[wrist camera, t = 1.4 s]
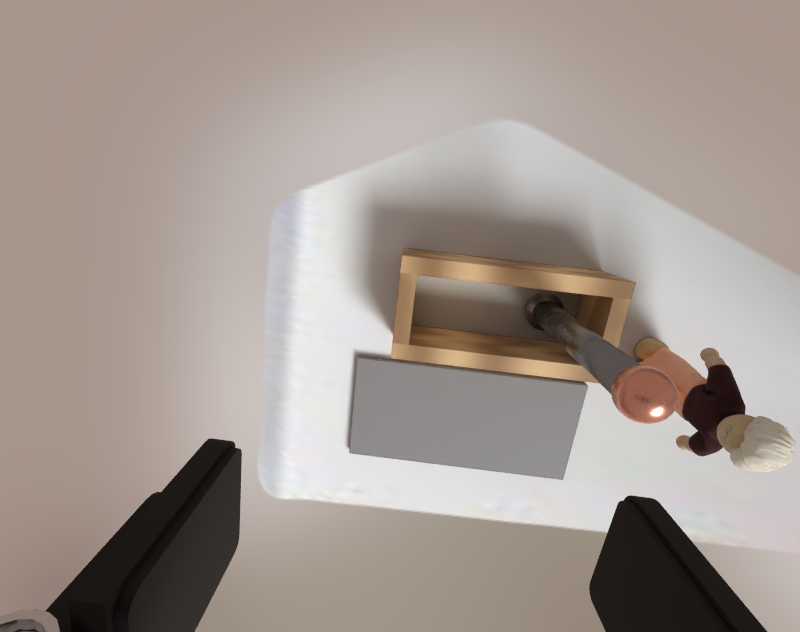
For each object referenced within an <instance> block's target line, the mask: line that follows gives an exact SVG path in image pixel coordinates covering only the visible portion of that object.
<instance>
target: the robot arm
mask: <svg viewBox="0 0 800 632" xmlns="http://www.w3.org/2000/svg"><path fill="white" fill-rule="evenodd" d="M241 456H242V454H241V449H238V448H235V443H234V442H232V441H225V440H218V439H208V440H207V441H206V442H205V443H204V444H203V445H202V446H201V447H200V449H199V450H198V451H197V452H196V453H195V454H194V455H193V457H192V458H191V459H190V460H189V461H188V462H187V463H186V465H185V466H184V467H183V468H182V469H181V470H180V471H179V473H178V474H177V475H176V476H175V477H174V478H173V479H172V481H171V482H170V483H169V484H168V485H167V486H166V487H165V488H164V490H163V491H162V492H156V493H154V494H152V495H151V496H150V497H149V498H147V499H146V501H145V502H144V503H143V504H142V505H141V506H140V507H139V508H138V509H137V510H136V511H135V513H134V514H133V515H132V516H131V517H130V518H129V519H128V520H127V521H126V523H125V524H124V525H123V526H122V527H121V528H120V529H119V531H117V533H116V534H115V535H114V536H113V537H112V538H111V539H110V540H109V541H108V542H107V544H106V545H105V546H104V547H103V548H102V549H101V550H100V551H99V552H98V553H97V555H96V556H95V557H94V558H93V559H92V560H91V561H90V562H89V563H88V565H87V566H86V567H85V568H84V569H83V570H82V571H81V572H80V574H79V575H78V576H77V577H76V578H75V579H74V580H73V581H72V582H71V583H70V584H69V586H68V587H67V588H66V589H65V590H64V591H63V592H62V593H61V594H60V595H59V597H58V598H57V599H56V600H55V601H54V602H53V603H52V604H51V606H50V607H49V608H48V609H47V610H46V611H42V610H38V609H33V610H21V611H17V612H13V613H10V614H7V615H3V616H0V632H195V630H196V628H197V626H198V624H199V622H200V620H201V618H202V616H203V614H204V612H205V610H206V608H207V606H208V604H209V602H210V600H211V598H212V596H213V595H214V592H215V591H216V588H217V587H218V585H219V583H220V581H221V579H222V577H223V575H224V573H225V571H226V569H227V567H228V565H229V563H230V561H231V559H232V557H233V555H234V553H235V551H236V548H237V545H238V541H239V526H240V525H239V524H240V492H241V491H240V490H241V489H240V488H241ZM589 589H590V596H591V600H592V602H593V605H594V607H595V609H596V611H597V613H598V616H599V618H600V620H601V622H602V624H603V626H604V629H605V631H606V632H767V631H766V630H765V629H764V628H763V626H762V625H761V624H760V623H759V622H758V620H757V619H756V618H755V617H754V615H753V614H752V613H751V612H750V611H749V609H748V608H747V607H746V606H745V605H744V603H743V602H742V601H741V600H740V599H739V597H738V596H737V595H736V594H735V593H734V591H733V590H732V589H731V588H730V587H729V586H728V584H727V583H726V582H725V581H724V580H723V579H722V577H721V576H720V575H719V574H718V572H717V571H716V570H715V569H714V568H713V566H712V565H711V564H710V563H709V562H708V561H707V559H706V558H705V557H704V556H703V554H702V553H701V552H700V551H699V550H698V549H697V547H696V546H695V545H694V544H693V543H692V541H691V540H690V539H689V538H688V537H687V535H686V534H685V533H684V532H683V531H682V529H681V528H680V527H679V526H678V525H677V523H676V522H675V521H674V520H673V519H672V517H671V516H670V515H669V514H668V513H667V511H666V510H665V509H664V508H663V507H662V506H661V504H660V503H659V502H658V501H657V500H655V499H652V498H645V497H638V496H627V497H626V498H625V499H624V501H620V502H619V503H618V505H617V508H616V511H615V514H614V516H613V519H612V522H611V525H610V528H609V530H608V533H607V536H606V539H605V542H604V545H603V548H602V550H601V553H600V556H599V559H598V562H597V565H596V567H595V570H594V573H593V576H592V579H591V581H590V588H589Z"/></svg>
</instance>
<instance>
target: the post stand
mask: <svg viewBox="0 0 800 632" xmlns="http://www.w3.org/2000/svg"><path fill="white" fill-rule="evenodd" d="M524 313H525V318H526V320H527V321H528V323H529V324H530V325H531V326H533V327H534V328H536V329H539V330H545V331H546V332H548V333H549V334H550V335H551V336H552V337H553V338H554V339H555V340H556V341H557V342H558V343H559V344H560V345H561V346H562V347H563V348H564V349H565V350H566V351H567V352H568V353H569V354H570V355H571V356H572V357H573V358H574V359H575V360H576V361H578V362H579V363H580V364H581V365H582V366H583V367H584V368H585V369H586V370H587V371H588V372H589V373H590V374H591V375H592V376H593V377H594V378H595V379H596V380H597V381H598V382H599V383H600V384H601V385H602V386H603V387H604V388H605V389H606V390H608V391H609V392H610V393H611V395H612V399H613V402H614V404H615V406H616V407H617V409H618V410H619V411H620V412H621V413H622V414H623V415H624V416H626V417H627V418H629V419H631V420H633V421H636V422H640V423H647V424H649V423H657V422H660V421H663V420H665V419H666V418H668V417H669V416H670V415H671V414H672V413H673V412H674V411H675V409H676V407H677V404H678V391H677V388H676V386H675V384H674V382H673V381H672V380H671V378H670V377H669V376H668V375H666V374H665V373H664V372H662V371H660V370H658V369H656V368H653V367H650V366H642V365H640V364H639V363H638V362H636V361H635V360H633V359H632V358H631V357H629V356H628V355H626V354H625V353H623V352H622V351H621V350H619V349H618V348H616V347H615V346H614V345H612V344H611V343H609V342H608V341H606V340H605V339H604V338H602V337H601V336H599V335H598V334H597V333H595V332H594V331H592V330H591V329H589V328H588V327H587V326H585V325H584V324H582V323H581V322H580V321H578V320H577V319H575V318H574V317H572V316H571V315H570V314H568V313H567V312H565V311H564V308H563V305H562V303H561V301H560V300H559V299H558V298H557V297H555V296H553V295H551V294H548V293H540V294H537V295H535V296H533V297H532V298H531V299H530V300H529V301H528V302H527V304H526V306H525V310H524Z"/></svg>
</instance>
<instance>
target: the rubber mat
mask: <svg viewBox="0 0 800 632" xmlns="http://www.w3.org/2000/svg"><path fill="white" fill-rule="evenodd" d="M587 388H588V386H587V384H586V383H578V382H569V381H561V380H553V379H544V378H536V377H528V376H520V375H511V374H503V373H495V372H486V371H478V370H470V369H461V368H453V367H445V366H437V365H428V364H420V363H412V362H403V361H395V360H387V359H379V358H370V357H362V356H358V358H357V369H356V381H355V393H354V404H353V416H352V428H351V440H350V451H349V453H352V454H360V455H368V456H376V457H384V458H392V459H400V460H408V461H416V462H424V463H432V464H440V465H448V466H456V467H464V468H472V469H480V470H488V471H496V472H504V473H512V474H520V475H528V476H536V477H544V478H552V479H560V480H563V478H564V474H565V470H566V467H567V463H568V459H569V455H570V452H571V448H572V444H573V440H574V437H575V433H576V429H577V425H578V422H579V418H580V414H581V410H582V407H583V403H584V399H585V395H586V392H587Z"/></svg>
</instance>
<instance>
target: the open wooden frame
mask: <svg viewBox="0 0 800 632" xmlns="http://www.w3.org/2000/svg"><path fill="white" fill-rule="evenodd" d="M417 275H423V276H432V277H440V278H449V279H458V280H466V281H475V282H483V283H492V284H500V285H509V286H517V287H526V288H535V289H543V290H552V291H560V292H569V293H577V294H581V298H580V302H579V306H578V310H577V314H576V318H575V319H577V320H578V321H580V322H581V323H582V324H584V325H585V326H587V327H588V328H589V329H591V330H592V331H594V332H595V333H597V334H598V335H599V336H601V337H602V338H604V339H605V340H606V341H608V342H609V343H611V344H612V345H614V346H615V347H616V348H618V345H619V341H620V338H621V334H622V330H623V327H624V323H625V320H626V316H627V313H628V309H629V306H630V302H631V298H632V295H633V291H634V288H635V284H636V283H635V282H632V281H629V280H627V279H624V278H621V277H618V276H615V275H612V274H609V273H606V272H603V271H596V270H588V269H579V268H571V267H562V266H553V265H545V264H536V263H527V262H519V261H510V260H502V259H493V258H484V257H476V256H467V255H458V254H450V253H441V252H433V251H424V250H415V249H407V248H405V249H404V252H403V254H402V261H401V270H400V279H399V288H398V297H397V306H396V315H395V324H394V333H393V342H392V351H391V358H394V359H402V360H410V361H418V362H427V363H435V364H443V365H452V366H460V367H468V368H476V369H485V370H493V371H501V372H510V373H518V374H526V375H535V376H543V377H551V378H559V379H568V380H576V381H584V382H593V383H599V382H598V381H597V380H596V379H595V378H594V377H593V376H592V375H591V374H590V373H589V372H588V371H587V370H586V369H585V368H584V367H583V366H582V365H581V364H580V363H579V362H578V361H576V360H575V359H574V358H573V357H572V356H571V355H570V354H569V353H568V352H567V351H566V350H565V349H564V348H563V347H562V346H561V345H560V344H559V343H557V342H549V341H540V340H532V339H523V338H515V337H507V336H498V335H490V334H481V333H473V332H465V331H456V330H448V329H439V328H431V327H423V326H414V325H411V322H412V314H413V306H414V298H415V290H416V282H417Z"/></svg>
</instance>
